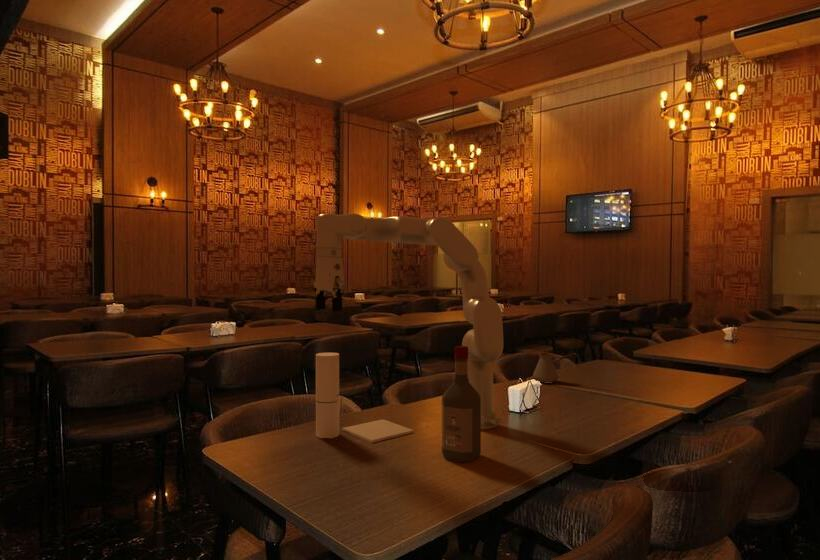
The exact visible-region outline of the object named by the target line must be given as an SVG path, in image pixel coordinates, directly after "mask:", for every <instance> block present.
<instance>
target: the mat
mask: <svg viewBox="0 0 820 560" xmlns="http://www.w3.org/2000/svg"><path fill="white" fill-rule="evenodd" d="M342 430H343V432H345V431H346V432H345V433H347V432H348V433H347V434H349V433H350V434H349V435H351V436H355V437H357V438H359V439H361V440H363V441H366V442H367V443H368V442H369V443H371V444H373V443H378V442H382V441H385V440H389V439H393V438H397V437H401V436H407V435H408V434H409V435H410V434H413V433H415V432H414V429H412V428H408V427H406V426H404V425H400V424H398V423H395V422H392V421H389V420H386V419H383V418H382V419H379V420H374V421H369V422H365V423H359V424H355V425H350V426H345V427H342Z"/></svg>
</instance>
